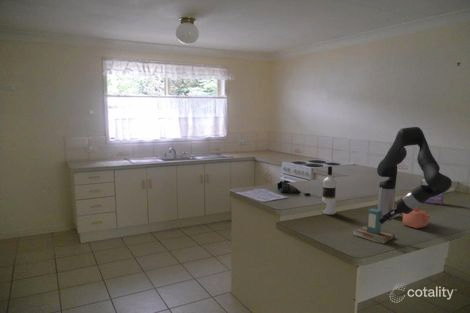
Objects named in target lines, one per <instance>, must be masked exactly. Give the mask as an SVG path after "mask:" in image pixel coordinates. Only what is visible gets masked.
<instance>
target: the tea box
mask: <svg viewBox="0 0 470 313" xmlns="http://www.w3.org/2000/svg"><path fill="white" fill-rule="evenodd" d="M381 218H383V216H382V210H378V208H370V209H367V218H366V220H367V221H366V227H367V233H371V234H375V235H378V234H379V233H381V229H382V224H381V223H380V222H379V220H380V219H381Z"/></svg>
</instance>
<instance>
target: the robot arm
mask: <svg viewBox="0 0 470 313" xmlns="http://www.w3.org/2000/svg"><path fill="white" fill-rule="evenodd" d="M409 146H418V147H419V151H418V154H417V158H416V159H417V163H418V165H419V167H420V170H422V172H423V176H424V178H423V179H425V181H426V183H427V184H428V185H422V184H420V185H418V186H416V187H415V188H414V189H412V190H411V191H409V192H407V193H406V194H404V195H403V196H402V197H401V198H399V199H398V200H397V201H396V203H395V198H396V195H395V194H396V187H397V186H396V185H397V177H398V165H400V164H401V163H403V161H404V160H405V158H406V157H407V154H408V153H407V151H408V150H407V148H406V147H409ZM376 173H377V175H378V176H379V177H381V178H388V179H386V180H384V181H380V182H379V184H378V199H377V200H378V201H377V202H378V203H377V209H378V210H382V217H381V219H380V220H379V222H380V223H381V225H383V224H385V223H386V222H387V221H391V220H393V219H394V218H396V217H398V216H401V215H403V213H405V214H409V213H410V212H412V211H413V210H415V209H416V208H419V207H420V206H421V205H422V204H425V203H424V202H425V201H427V200H428V199H429V198H431V197H434V196H437V195H439V194H442V193H443V194H444V193H446V192H447V191H448V190H450V188H451V187H452V185H453V182H452V179H451V178H450V177H449V176H447V175H445V174H442V173H441V172H440V165H439V163H438V162H437V160H436V159H435V157H434V155H433V153H432V152H431V150H430V146H429V144H428V142H427V139H426V136H425V134H424V132H423V130H422V128H420V127H419V126H418V127H417V126H411V127H410V126H409V127H403V128H400V129H399V131H398V132H397V134H396V136H395V138H394V141H393V143H392V145H391V147H390V148H389V149H388V151H387V153H386V155H385V156H384V158H382V159H381V161H379V163H378V165H377V169H376ZM395 204H396V206H395Z"/></svg>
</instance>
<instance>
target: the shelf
mask: <svg viewBox="0 0 470 313" xmlns="http://www.w3.org/2000/svg"><path fill="white" fill-rule="evenodd" d="M395 235H396V234H395V233H393V232H390V231H386V230H381V233H379V234H378V235H375V234H371V233H367V225H364V226H362V227H361V228H358V229H355V228H353V230H352V236H355V237H358V238H361V239H364V240H365V239H366V240H368V241H371V242H375V243H379V244H387V242H389V241H391V240H393V239H394V238H396V236H395Z"/></svg>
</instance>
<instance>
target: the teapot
mask: <svg viewBox="0 0 470 313" xmlns="http://www.w3.org/2000/svg"><path fill="white" fill-rule="evenodd" d="M430 219H431V215H430V214H428V212H427V210H423V209H419V207H417V208H416V209H415V210H413V211H412V212H410V213H409V214H405V213H402V225H404V226H407V227H411V228H414V229H420V228H426V227H427V226H428V225H429V220H430Z"/></svg>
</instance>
